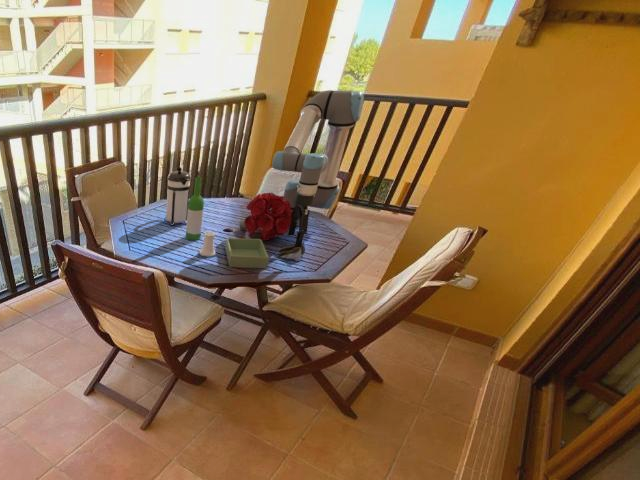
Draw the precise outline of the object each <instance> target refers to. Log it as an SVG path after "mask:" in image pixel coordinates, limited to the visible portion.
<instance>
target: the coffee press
mask: <svg viewBox="0 0 640 480" xmlns="http://www.w3.org/2000/svg"><path fill="white" fill-rule="evenodd" d="M182 170H183V169H182V167H181V166H178V167H177V170H175V171H172V172H170V173H168V176H167V177H166V178H167V179H166V180H167V185H166V189H167V193H166V209H165V210H166V213H165V218H164V219H163V221H164V222H169V223H170V224H173V223H174V224H173V225H170V224H169V226H170V227H174V225H175V224H181V223H184V224H185V225H186V226H187V214H188V203H189V199H190V189H191V180H192V177H191V175H190V173H189V172H187V171H184V170H183V171H182Z"/></svg>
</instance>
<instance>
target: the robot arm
mask: <svg viewBox="0 0 640 480" xmlns="http://www.w3.org/2000/svg"><path fill="white" fill-rule="evenodd" d="M364 96H365V95H364V92H362V91H359V90H332V89H329V90H324V91H321V92H319V93H317V94H315V95H314V96H312V97H310V99H309V100H308V101H306V102H305V103H304V105H303V107H302V108H301V109H300V112H299V119H298V120H297V122H296V125H295V127H294V129H293V130H292V132H291V134H290V136H289V138H288V139H287V141H286V142H287V143H286V144H285V146H284V148H283V150H280V151H279V150H278V151H276V152H275V153H274V155H273V159H272V168H273V170H277V171H282V172H283V171H284V172H292V173H293V172H294V173H300V177H299V178H295V179H294V178H293V179H290V180H288V181H287V182H286V184H285V187H284V191H283V195H282V196H283V197H285V199H284V200H283V201H285V200H287V201H289V203H290V207H291V212H292V214H291V216H290V218H291V223H290V227H289V228H288V232H287V236H292V237H293V236H295V233H296V237H295V241H294V244H295V245H294V244H293V245H294V247H301V245H302V243H303V241H304V237H305V235H306V234H308V225H309V216H310V213H311V209H309V208H308V207H310V208H317V209H320V210H323V209H324V210H330V209H331V208H332V207H333V205H334V203H335V201H336V200H337V198H338V194H339V192H340V189H341V187H340V186H339V181H338V180H337V177H338V173H339V169H340V166H341V163H342V158H343V155H344V151H345V147H346V145H347V144H346V143H347V140H348V137H349V134H350V130H351V128H353V127H354V126H355V125H356V122H359V121H360V119H361V117H362V112H363V108H364V100H365V97H364ZM320 120H328V121H327V127H328V128H329V131H328V135H327V139H326V143H325V147H324V151H323V153H316V152H315V153H313V152H311V153H302V152H303V149H304V147H305V146H306V143H307V141H308V139H309V137H310V135H311V133H312V131H313V129H314V127H315V125H316V124H318V122H320ZM268 193H269V194H273V195H276V194H275V193H273V192H271V193H270V192H268ZM297 227H298V230H297ZM296 230H297V232H296Z"/></svg>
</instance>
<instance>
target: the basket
mask: <svg viewBox="0 0 640 480" xmlns="http://www.w3.org/2000/svg"><path fill="white" fill-rule="evenodd" d="M224 250H225V253H226V259H227V263H228V267H229V268H244V269H245V268H246V269H247V268H248V269H268V265H269V260H270V256H269V254H268V252H267V248H266V247H265V245H264V241H263V240H262V238H239V237H237V238H236V237H226V241H225V246H224Z"/></svg>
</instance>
